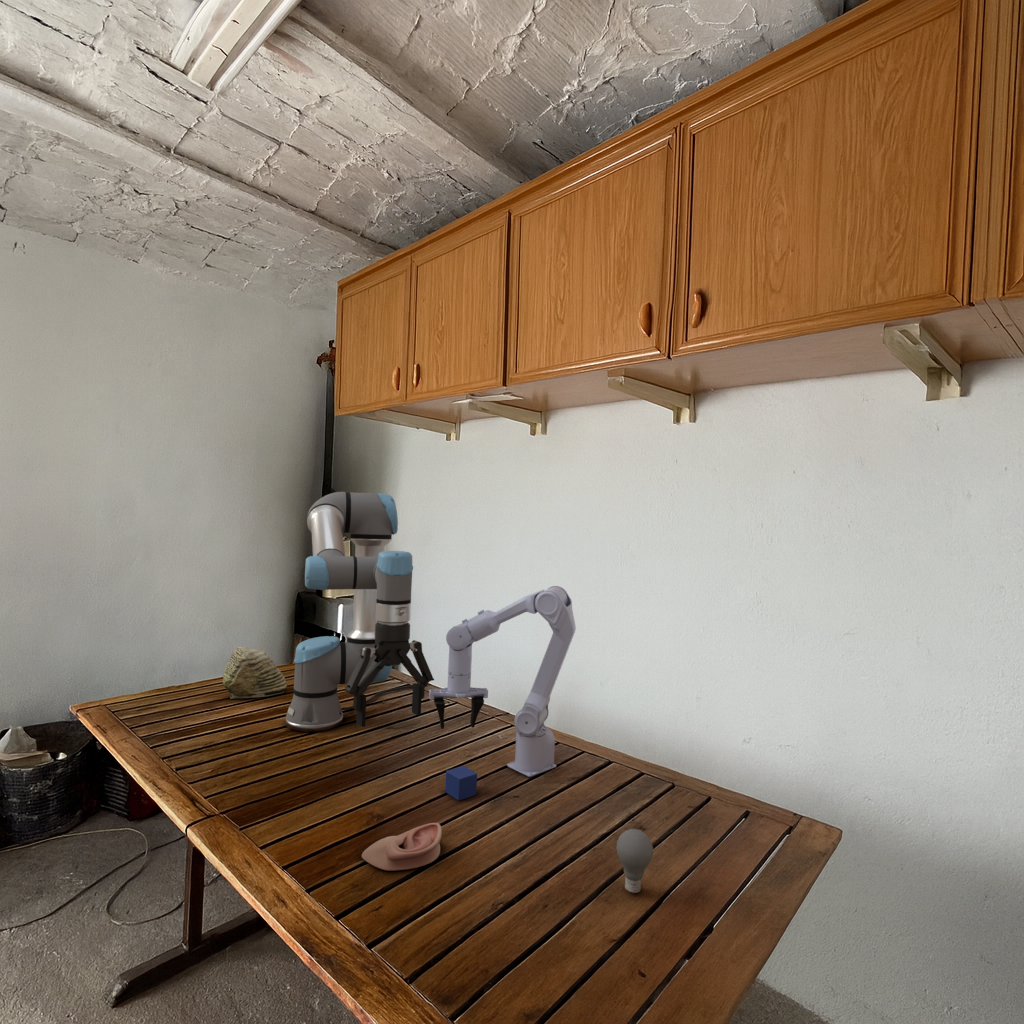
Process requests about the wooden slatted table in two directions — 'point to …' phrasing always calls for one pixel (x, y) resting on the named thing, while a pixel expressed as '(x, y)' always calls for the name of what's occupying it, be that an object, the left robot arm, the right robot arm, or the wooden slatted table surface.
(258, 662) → the fossil
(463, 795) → the blue cube
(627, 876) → the light bulb
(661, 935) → the wooden slatted table surface
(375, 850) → the anatomical model
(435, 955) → the wooden slatted table surface
